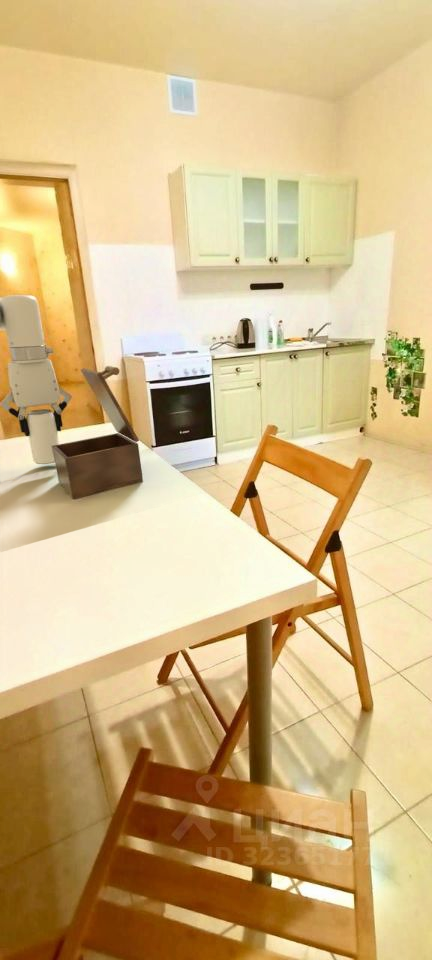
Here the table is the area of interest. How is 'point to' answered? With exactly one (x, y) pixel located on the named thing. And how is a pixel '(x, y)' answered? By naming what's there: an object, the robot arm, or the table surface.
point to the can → (42, 435)
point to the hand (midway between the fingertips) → (42, 432)
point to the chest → (97, 464)
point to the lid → (109, 400)
